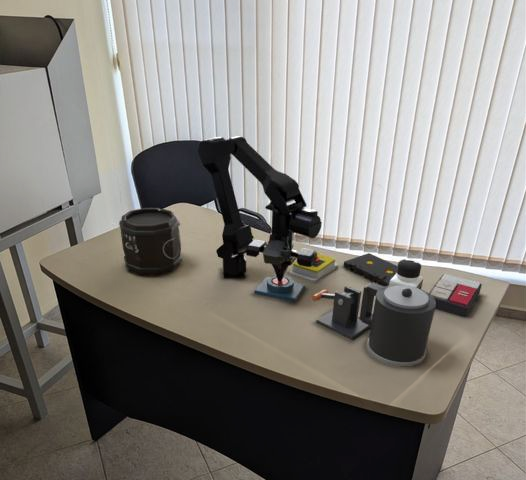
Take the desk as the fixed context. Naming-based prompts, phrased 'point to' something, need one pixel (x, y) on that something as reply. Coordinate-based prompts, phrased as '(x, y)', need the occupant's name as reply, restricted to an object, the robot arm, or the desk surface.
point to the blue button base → (280, 289)
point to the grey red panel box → (455, 294)
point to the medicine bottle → (408, 274)
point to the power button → (283, 282)
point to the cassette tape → (372, 268)
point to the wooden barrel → (151, 241)
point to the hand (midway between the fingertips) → (280, 280)
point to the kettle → (397, 322)
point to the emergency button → (315, 268)
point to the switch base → (344, 315)
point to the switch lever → (331, 295)
